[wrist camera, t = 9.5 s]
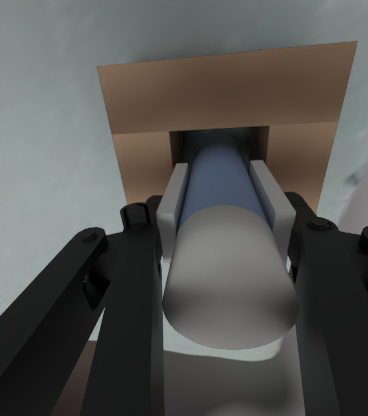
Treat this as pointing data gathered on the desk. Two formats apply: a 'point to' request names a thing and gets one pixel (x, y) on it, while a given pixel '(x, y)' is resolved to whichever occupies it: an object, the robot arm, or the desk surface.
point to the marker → (226, 257)
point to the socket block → (229, 112)
